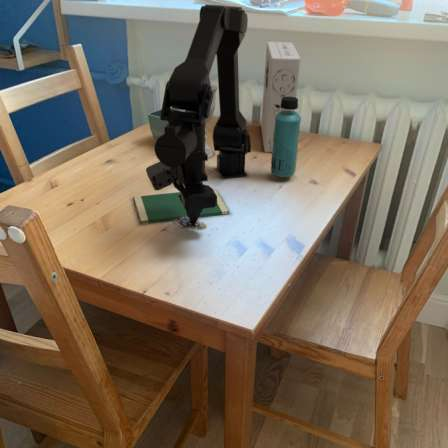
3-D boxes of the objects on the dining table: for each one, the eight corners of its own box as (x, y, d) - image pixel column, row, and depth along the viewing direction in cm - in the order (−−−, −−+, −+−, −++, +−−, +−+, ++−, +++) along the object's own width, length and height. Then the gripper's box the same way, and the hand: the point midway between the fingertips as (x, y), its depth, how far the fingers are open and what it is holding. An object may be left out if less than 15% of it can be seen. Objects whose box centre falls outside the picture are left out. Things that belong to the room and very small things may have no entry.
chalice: (197, 160, 134) (196, 92, 123) (187, 152, 138) (185, 85, 127) (221, 156, 136) (222, 89, 125) (210, 148, 141) (210, 82, 130)
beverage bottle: (297, 174, 128) (306, 95, 115) (291, 184, 123) (300, 103, 110) (273, 170, 129) (280, 92, 117) (266, 180, 124) (273, 99, 112)
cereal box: (290, 153, 140) (301, 58, 124) (264, 152, 140) (271, 57, 124) (284, 128, 157) (292, 42, 141) (260, 127, 157) (266, 41, 141)
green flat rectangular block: (215, 191, 119) (215, 188, 118) (229, 214, 110) (229, 210, 109) (133, 199, 114) (133, 196, 114) (140, 224, 105) (140, 220, 104)
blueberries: (183, 215, 106) (183, 207, 105) (215, 222, 102) (214, 213, 101) (165, 227, 101) (164, 218, 100) (197, 234, 97) (197, 226, 96)
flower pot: (168, 136, 148) (167, 106, 143) (190, 143, 144) (190, 112, 139) (148, 144, 142) (146, 113, 137) (171, 151, 138) (170, 119, 133)
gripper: (140, 133, 97) (146, 203, 106) (155, 170, 83) (161, 248, 92) (194, 129, 99) (195, 198, 109) (218, 164, 85) (217, 240, 95)
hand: (191, 219), depth 101 cm, fingers closed on blueberries, 2 cm apart
